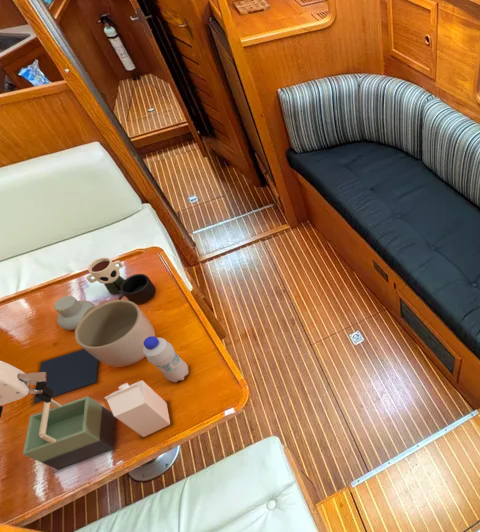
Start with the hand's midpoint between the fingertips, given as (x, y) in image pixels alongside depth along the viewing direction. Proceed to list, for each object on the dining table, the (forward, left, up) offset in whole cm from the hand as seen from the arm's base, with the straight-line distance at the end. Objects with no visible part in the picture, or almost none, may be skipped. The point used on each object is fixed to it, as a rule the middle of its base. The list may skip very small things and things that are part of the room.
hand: (25, 405), depth 89 cm
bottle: (+24, +11, -25) cm, 36 cm away
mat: (-7, +25, -24) cm, 36 cm away
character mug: (+6, +55, -25) cm, 61 cm away
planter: (+11, +26, -25) cm, 37 cm away
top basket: (0, 0, -18) cm, 18 cm away
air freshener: (-5, +45, -25) cm, 52 cm away
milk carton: (+17, -1, -25) cm, 30 cm away
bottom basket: (0, 0, -24) cm, 24 cm away
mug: (+13, +47, -25) cm, 55 cm away
